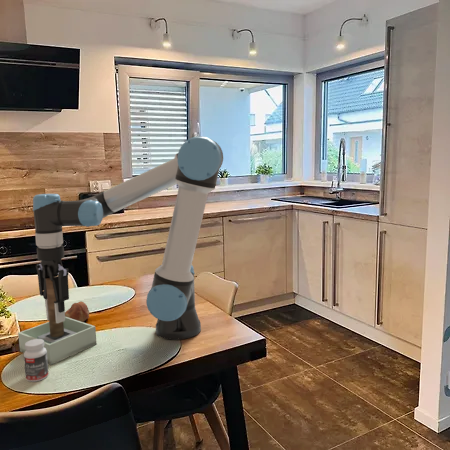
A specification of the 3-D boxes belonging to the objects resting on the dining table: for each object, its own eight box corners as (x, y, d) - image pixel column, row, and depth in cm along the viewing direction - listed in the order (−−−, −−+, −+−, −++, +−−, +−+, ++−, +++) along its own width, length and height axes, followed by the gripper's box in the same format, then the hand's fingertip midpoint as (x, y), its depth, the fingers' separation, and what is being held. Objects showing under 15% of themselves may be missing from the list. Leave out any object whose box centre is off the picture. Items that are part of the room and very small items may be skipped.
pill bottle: (25, 384, 112) (21, 348, 110) (26, 374, 117) (22, 340, 115) (49, 379, 114) (46, 344, 112) (48, 370, 119) (45, 336, 117)
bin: (96, 344, 135) (95, 326, 134) (50, 364, 122) (49, 345, 121) (65, 333, 144) (64, 316, 143) (20, 351, 131) (18, 332, 130)
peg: (66, 333, 133) (62, 277, 130) (55, 338, 129) (50, 280, 126) (59, 330, 135) (54, 275, 132) (47, 335, 132) (42, 278, 129)
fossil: (68, 321, 144) (66, 293, 149) (53, 328, 148) (52, 301, 152) (98, 323, 154) (96, 297, 159) (83, 330, 158) (82, 304, 162)
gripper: (78, 246, 126) (83, 322, 130) (44, 240, 135) (50, 311, 139) (56, 251, 120) (62, 330, 123) (22, 244, 129) (29, 318, 133)
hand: (56, 320), depth 131 cm, fingers closed on peg, 4 cm apart
